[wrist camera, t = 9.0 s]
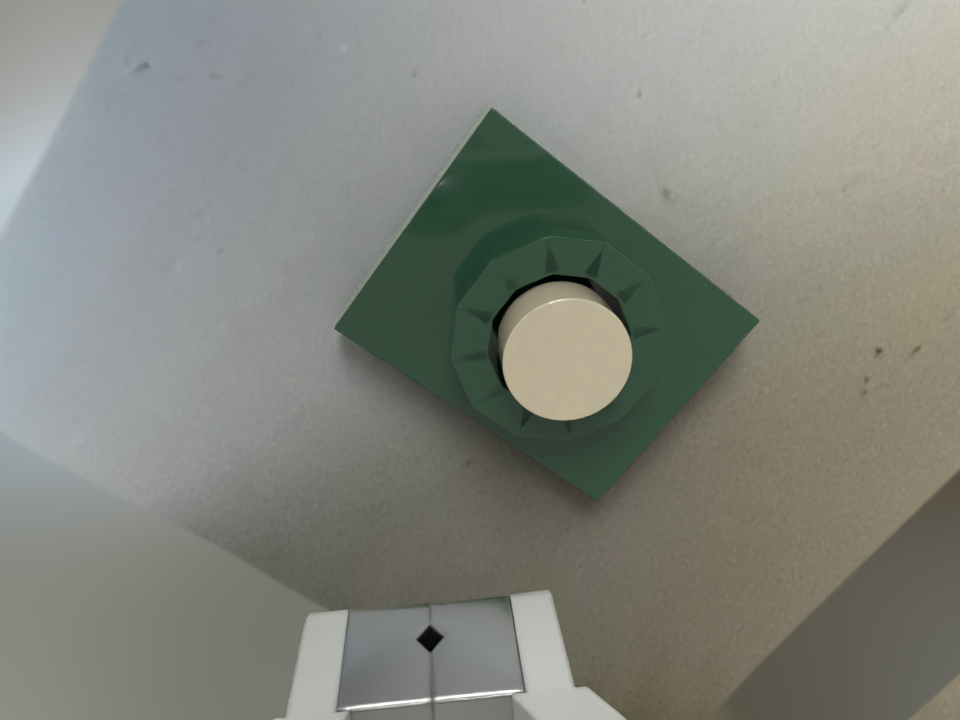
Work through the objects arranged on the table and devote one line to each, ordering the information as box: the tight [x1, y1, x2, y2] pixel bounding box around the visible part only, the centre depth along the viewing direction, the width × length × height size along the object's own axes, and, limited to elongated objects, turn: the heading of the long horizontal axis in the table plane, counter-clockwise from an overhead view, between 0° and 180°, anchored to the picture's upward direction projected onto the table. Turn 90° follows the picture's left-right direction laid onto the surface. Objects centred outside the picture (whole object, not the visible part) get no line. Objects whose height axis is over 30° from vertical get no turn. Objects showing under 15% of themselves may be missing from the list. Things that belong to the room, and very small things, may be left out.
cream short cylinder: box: [497, 281, 632, 421], centre depth 24 cm, size 4×4×2 cm
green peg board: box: [334, 106, 759, 501], centre depth 27 cm, size 12×9×4 cm
